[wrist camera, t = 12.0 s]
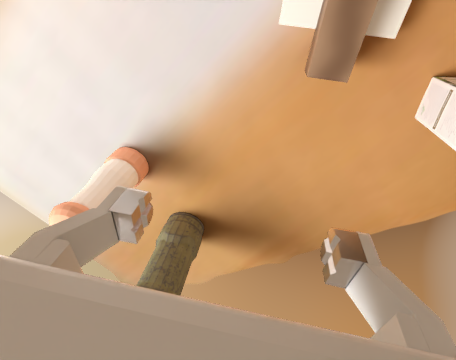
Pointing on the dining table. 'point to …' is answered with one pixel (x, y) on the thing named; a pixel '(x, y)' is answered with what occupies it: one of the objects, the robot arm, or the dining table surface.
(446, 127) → the syrup box
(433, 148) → the dining table surface
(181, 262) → the thermos
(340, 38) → the bar
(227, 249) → the dining table surface
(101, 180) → the pepper shaker
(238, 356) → the robot arm
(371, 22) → the board
